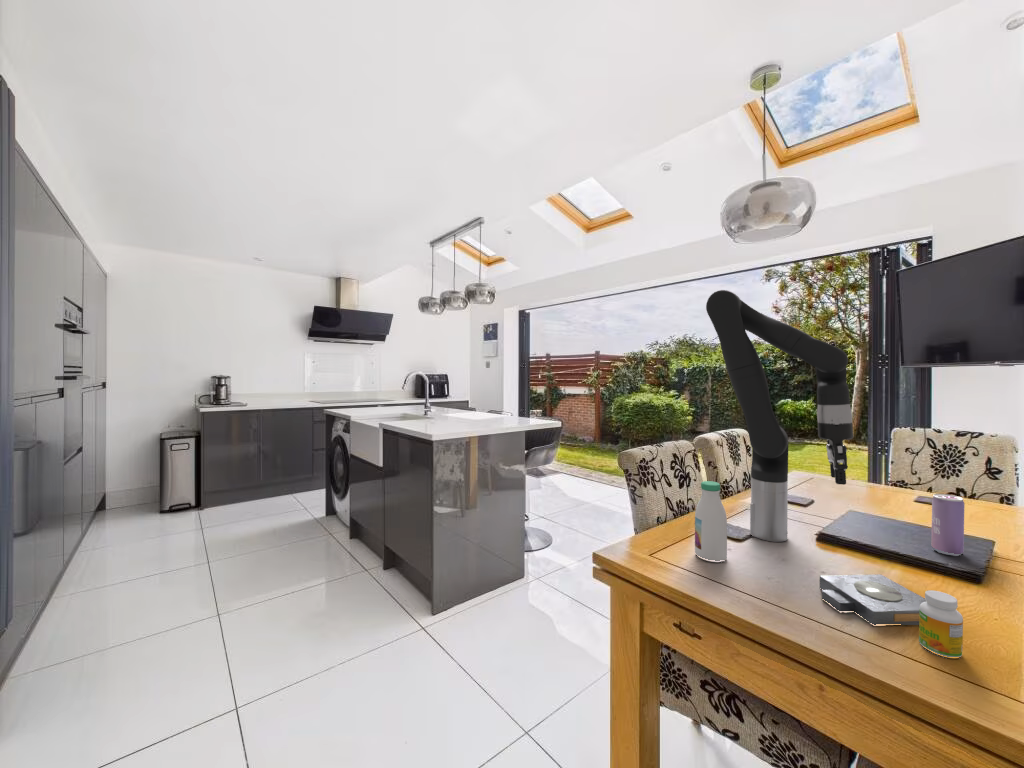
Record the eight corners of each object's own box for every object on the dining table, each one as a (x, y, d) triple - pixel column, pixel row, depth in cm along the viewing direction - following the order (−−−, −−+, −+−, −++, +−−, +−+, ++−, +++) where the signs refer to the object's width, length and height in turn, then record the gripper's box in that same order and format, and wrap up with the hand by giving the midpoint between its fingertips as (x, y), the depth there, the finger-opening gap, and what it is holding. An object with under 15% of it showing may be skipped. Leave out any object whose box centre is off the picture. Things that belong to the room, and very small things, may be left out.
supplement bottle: (910, 641, 77) (911, 588, 76) (937, 639, 77) (938, 587, 77) (942, 661, 71) (943, 605, 71) (971, 659, 72) (972, 603, 71)
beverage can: (970, 558, 108) (971, 500, 108) (942, 556, 110) (943, 499, 109) (951, 548, 114) (952, 493, 114) (925, 547, 115) (926, 493, 115)
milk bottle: (730, 556, 112) (730, 482, 111) (721, 566, 106) (721, 488, 105) (700, 548, 117) (700, 477, 116) (690, 557, 111) (690, 483, 111)
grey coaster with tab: (859, 627, 81) (859, 610, 81) (806, 589, 95) (806, 574, 95) (945, 625, 81) (946, 608, 81) (880, 587, 95) (881, 573, 95)
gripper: (814, 419, 122) (818, 474, 122) (820, 423, 110) (824, 485, 110) (847, 418, 118) (851, 476, 118) (857, 423, 106) (861, 487, 106)
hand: (838, 480), depth 114 cm, fingers open, 8 cm apart
